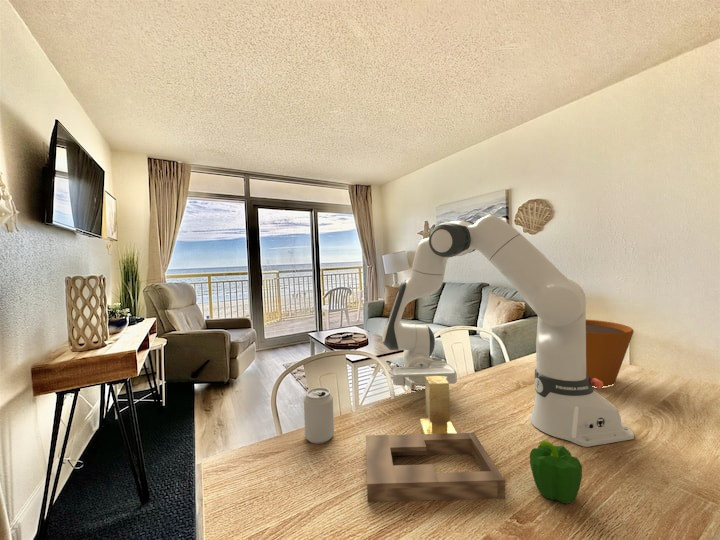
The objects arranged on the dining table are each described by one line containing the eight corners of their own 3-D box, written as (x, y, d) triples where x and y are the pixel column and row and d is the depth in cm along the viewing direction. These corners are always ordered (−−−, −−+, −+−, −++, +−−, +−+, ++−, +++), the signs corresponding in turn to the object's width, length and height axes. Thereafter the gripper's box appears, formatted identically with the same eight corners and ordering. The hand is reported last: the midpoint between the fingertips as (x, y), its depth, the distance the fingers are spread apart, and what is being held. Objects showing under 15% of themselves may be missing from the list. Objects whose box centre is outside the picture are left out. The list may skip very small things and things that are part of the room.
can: (329, 447, 76) (327, 398, 75) (300, 444, 77) (298, 397, 77) (337, 430, 83) (336, 386, 83) (311, 428, 85) (309, 385, 84)
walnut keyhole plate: (474, 446, 74) (473, 432, 74) (505, 498, 58) (505, 480, 58) (366, 449, 74) (365, 435, 74) (367, 501, 58) (367, 483, 58)
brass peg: (448, 423, 85) (447, 373, 85) (457, 440, 77) (456, 385, 77) (419, 424, 85) (418, 374, 85) (425, 441, 77) (424, 386, 77)
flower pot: (604, 400, 95) (604, 336, 95) (535, 374, 118) (535, 322, 117) (649, 386, 104) (649, 328, 103) (578, 365, 126) (577, 316, 126)
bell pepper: (578, 486, 61) (578, 436, 60) (585, 517, 53) (585, 460, 53) (530, 473, 65) (529, 426, 64) (530, 500, 57) (529, 447, 57)
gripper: (389, 360, 105) (393, 376, 91) (449, 359, 105) (462, 373, 91) (389, 379, 105) (394, 397, 92) (449, 377, 105) (462, 394, 91)
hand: (428, 385), depth 91 cm, fingers open, 8 cm apart
